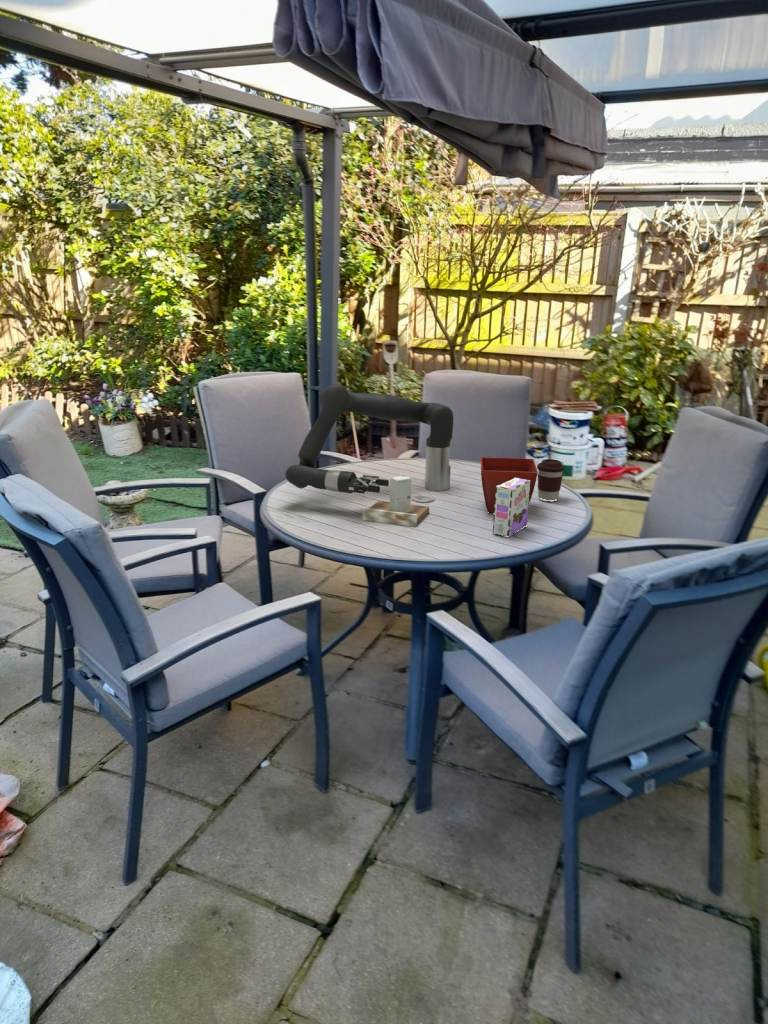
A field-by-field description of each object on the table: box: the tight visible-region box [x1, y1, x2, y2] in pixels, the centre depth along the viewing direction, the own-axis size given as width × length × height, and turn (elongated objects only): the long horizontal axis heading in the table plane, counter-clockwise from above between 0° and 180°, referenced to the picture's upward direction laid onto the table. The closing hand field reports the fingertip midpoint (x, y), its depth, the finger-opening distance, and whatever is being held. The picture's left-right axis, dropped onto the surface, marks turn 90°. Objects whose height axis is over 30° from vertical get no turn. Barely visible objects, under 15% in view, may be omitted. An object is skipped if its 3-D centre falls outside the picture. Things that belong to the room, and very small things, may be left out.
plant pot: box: [480, 456, 539, 514], centre depth 239 cm, size 19×19×17 cm
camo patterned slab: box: [362, 500, 430, 527], centre depth 232 cm, size 19×16×4 cm
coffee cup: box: [536, 458, 565, 500], centre depth 251 cm, size 10×10×15 cm
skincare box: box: [389, 475, 412, 513], centre depth 228 cm, size 6×4×12 cm
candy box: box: [492, 478, 530, 536], centre depth 217 cm, size 14×6×16 cm, turn 143°
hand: (384, 486), depth 229 cm, fingers open, 8 cm apart
